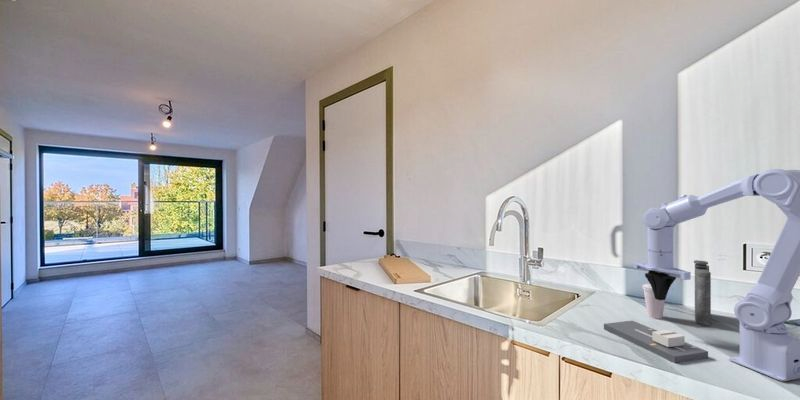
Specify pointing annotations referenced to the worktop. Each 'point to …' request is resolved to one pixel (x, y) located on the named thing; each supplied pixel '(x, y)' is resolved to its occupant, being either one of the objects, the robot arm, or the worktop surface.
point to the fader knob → (668, 338)
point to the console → (644, 339)
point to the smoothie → (653, 303)
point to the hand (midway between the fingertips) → (660, 299)
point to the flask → (702, 293)
